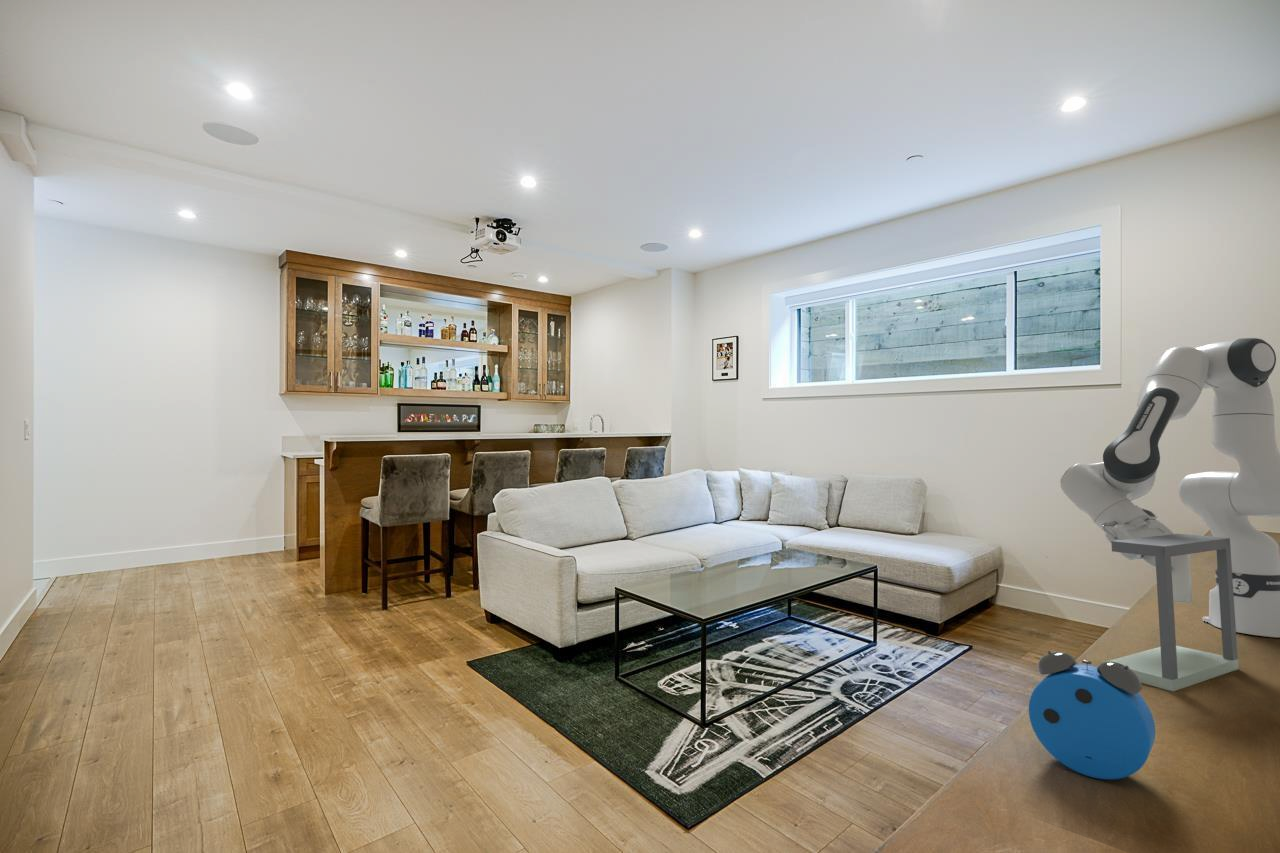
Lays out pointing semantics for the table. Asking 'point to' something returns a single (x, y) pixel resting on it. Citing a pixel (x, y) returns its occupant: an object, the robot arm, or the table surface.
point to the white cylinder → (1181, 578)
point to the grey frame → (1170, 661)
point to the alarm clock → (1092, 716)
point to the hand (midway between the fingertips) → (1177, 570)
